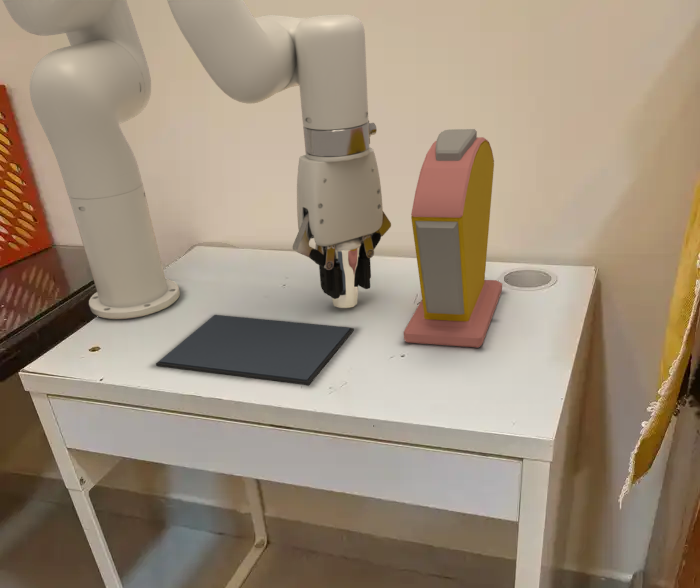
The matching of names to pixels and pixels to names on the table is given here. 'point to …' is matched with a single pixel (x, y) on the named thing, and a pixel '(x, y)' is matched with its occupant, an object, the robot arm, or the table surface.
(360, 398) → the table surface
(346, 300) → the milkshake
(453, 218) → the clock
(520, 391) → the table surface
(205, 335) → the mouse pad
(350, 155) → the robot arm
